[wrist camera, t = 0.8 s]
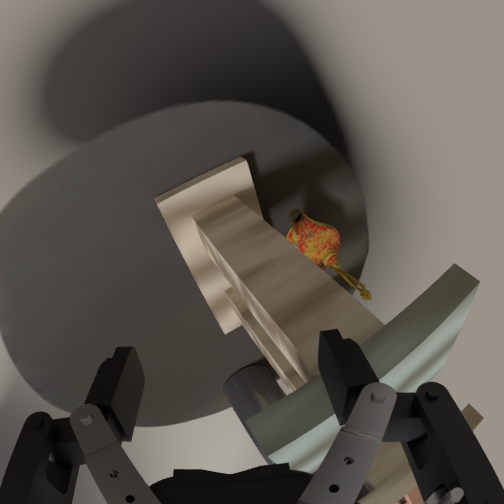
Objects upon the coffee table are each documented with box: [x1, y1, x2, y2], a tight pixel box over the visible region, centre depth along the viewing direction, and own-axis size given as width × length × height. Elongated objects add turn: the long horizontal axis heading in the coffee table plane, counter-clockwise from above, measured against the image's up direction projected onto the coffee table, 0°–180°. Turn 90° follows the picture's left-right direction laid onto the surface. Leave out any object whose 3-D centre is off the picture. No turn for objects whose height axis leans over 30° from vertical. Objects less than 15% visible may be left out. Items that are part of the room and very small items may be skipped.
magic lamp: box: [286, 208, 371, 300], centre depth 38 cm, size 7×18×11 cm, turn 39°
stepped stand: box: [154, 157, 483, 504], centre depth 27 cm, size 22×14×32 cm, turn 15°
